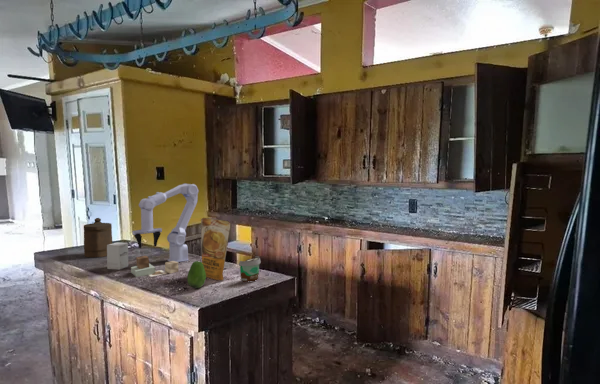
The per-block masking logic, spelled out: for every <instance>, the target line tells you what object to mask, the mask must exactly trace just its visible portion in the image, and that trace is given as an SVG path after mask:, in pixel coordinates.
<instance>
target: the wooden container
mask: <svg viewBox="0 0 600 384" xmlns="http://www.w3.org/2000/svg"><path fill="white" fill-rule="evenodd" d="M101 221H102V218H100V217H96V218H94V222H93V223H87V224H83V250H84V251H83V252H84V258H90V259H91V258H93V259H94V258H95V259H96V258H104V257H107V245H109V244H113V231H112V226H113V225H112V223H110V222H101Z"/></svg>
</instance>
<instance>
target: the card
mask: <svg viewBox="0 0 600 384" xmlns="http://www.w3.org/2000/svg"><path fill="white" fill-rule="evenodd" d="M155 272H156V273H154V274H150V275H148V276H149V277H150V278H151V277H152V278H153V277H156V276H157V277H158V276H161V275H167V274H168V273H167V272H165V270H162V269H160V270H159V269H158V270H155Z"/></svg>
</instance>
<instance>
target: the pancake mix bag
mask: <svg viewBox="0 0 600 384" xmlns="http://www.w3.org/2000/svg"><path fill="white" fill-rule="evenodd" d="M200 222H201V223H200V227H201V229H200V230H201V231H200V232H201V233H200V234H201V237H200V239H201V243H200V247H201V262H202V263H203V266H204V269H205V273H206V278H207V279H211V280H214V281H224V279H225V278H224V270H225V269H224V268H225V263H226V256H227V251H228V250H227V249H228V245H229V239H230V232H231V228H232V224H231V222H230V221H229V220H223V219H218V218H209V217H203V218H200Z"/></svg>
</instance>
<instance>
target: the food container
mask: <svg viewBox="0 0 600 384" xmlns="http://www.w3.org/2000/svg"><path fill="white" fill-rule="evenodd" d="M261 262H262V261H261V258H260V256H257V255H254V257H253V258H249V259H246V260H243V261H242V260H239V264H238V266H239V272H240V281H243V282H242V283H249V282H248V281H254V282H256V281H255V280H257V279H258V280H259V270H260V264H261ZM258 280H257V281H258Z"/></svg>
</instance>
